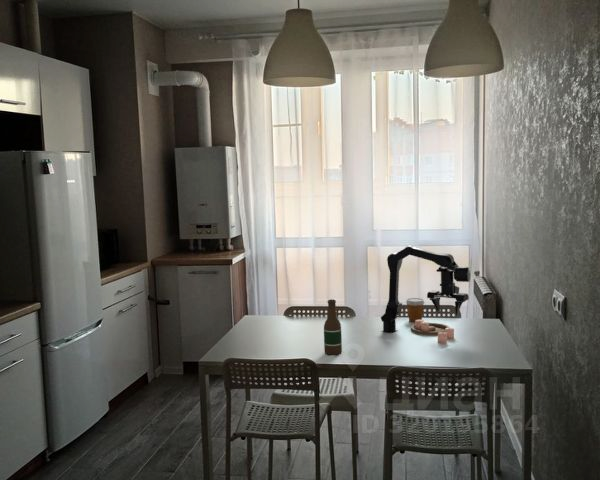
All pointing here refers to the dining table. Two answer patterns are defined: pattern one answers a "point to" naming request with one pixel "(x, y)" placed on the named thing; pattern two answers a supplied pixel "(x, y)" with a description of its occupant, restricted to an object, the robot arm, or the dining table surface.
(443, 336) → the bead
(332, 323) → the beer bottle
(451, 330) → the bead
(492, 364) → the dining table surface
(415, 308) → the beer glass
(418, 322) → the seated bead
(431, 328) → the tray
